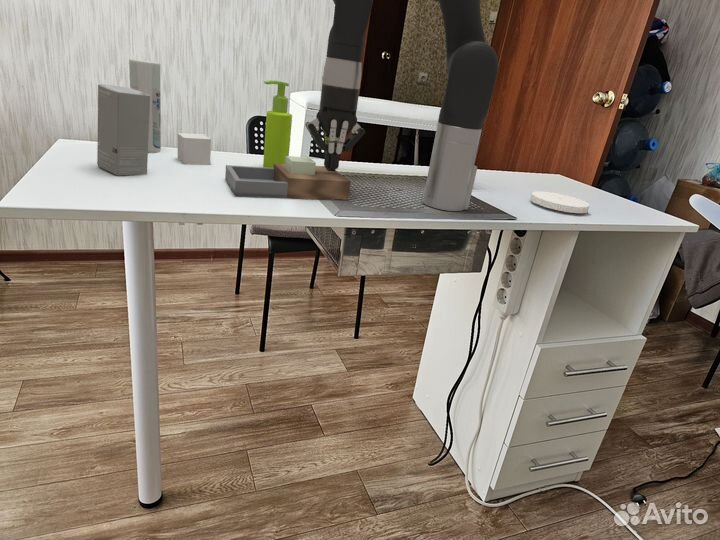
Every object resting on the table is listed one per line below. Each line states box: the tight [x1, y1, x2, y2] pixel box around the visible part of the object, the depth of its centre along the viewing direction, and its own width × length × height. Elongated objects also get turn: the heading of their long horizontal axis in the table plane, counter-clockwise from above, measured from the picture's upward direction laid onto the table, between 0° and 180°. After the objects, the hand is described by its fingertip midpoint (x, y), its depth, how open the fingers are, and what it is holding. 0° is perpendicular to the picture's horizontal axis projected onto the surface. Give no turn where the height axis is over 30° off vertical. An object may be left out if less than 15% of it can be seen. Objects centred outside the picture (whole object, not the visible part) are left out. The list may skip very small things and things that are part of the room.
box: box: [224, 164, 288, 199], centre depth 101 cm, size 10×13×3 cm
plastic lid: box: [529, 190, 591, 214], centre depth 126 cm, size 14×14×2 cm
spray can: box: [128, 58, 162, 154], centre depth 117 cm, size 6×6×20 cm
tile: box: [285, 155, 317, 175], centre depth 103 cm, size 5×5×2 cm
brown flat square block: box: [273, 163, 352, 201], centre depth 105 cm, size 13×13×4 cm
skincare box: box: [96, 83, 150, 177], centre depth 97 cm, size 8×7×16 cm
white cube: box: [177, 132, 212, 166], centre depth 115 cm, size 6×6×6 cm
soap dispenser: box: [262, 80, 293, 168], centre depth 117 cm, size 6×7×20 cm
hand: (330, 170), depth 106 cm, fingers closed
